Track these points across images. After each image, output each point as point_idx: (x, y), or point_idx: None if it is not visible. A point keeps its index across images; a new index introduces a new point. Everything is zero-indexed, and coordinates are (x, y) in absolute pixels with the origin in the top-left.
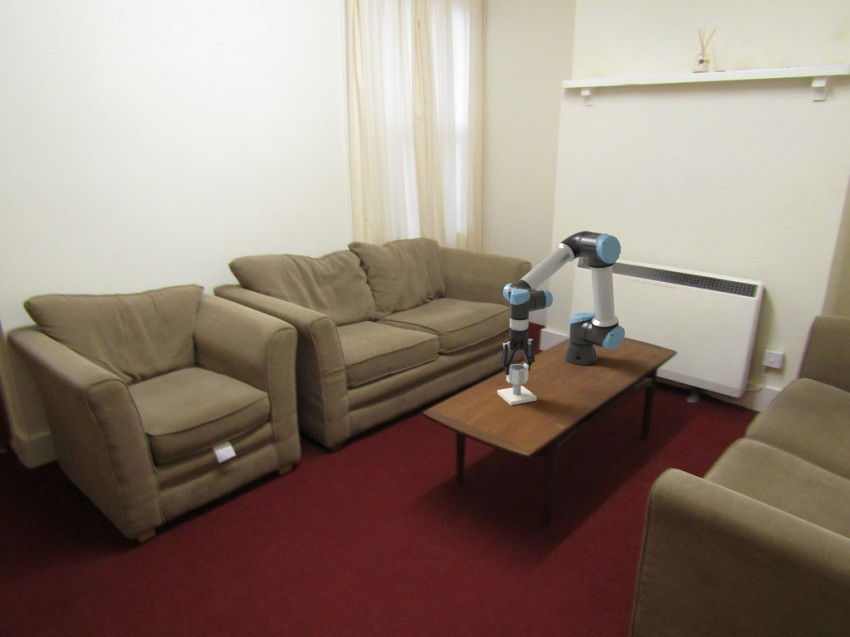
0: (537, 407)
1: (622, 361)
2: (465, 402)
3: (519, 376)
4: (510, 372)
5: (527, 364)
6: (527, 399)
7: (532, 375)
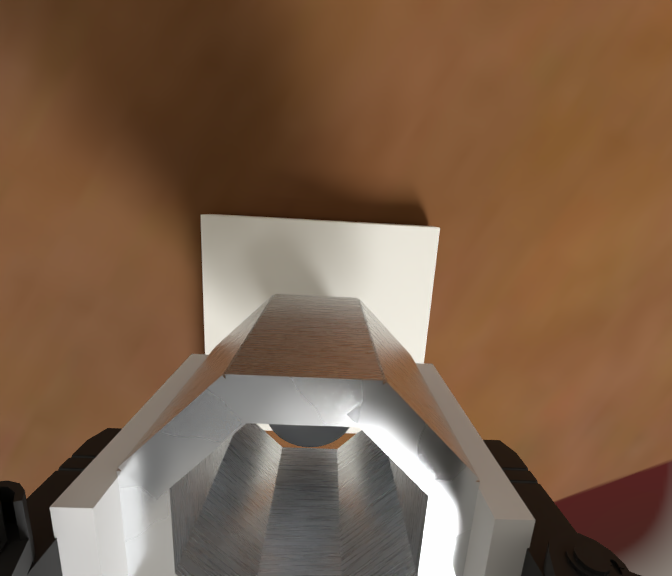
0: (265, 109)
1: None
2: (656, 396)
3: (354, 332)
4: (476, 450)
5: (57, 546)
6: (289, 219)
7: None
